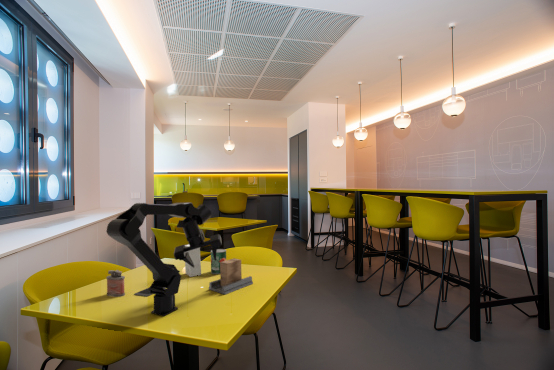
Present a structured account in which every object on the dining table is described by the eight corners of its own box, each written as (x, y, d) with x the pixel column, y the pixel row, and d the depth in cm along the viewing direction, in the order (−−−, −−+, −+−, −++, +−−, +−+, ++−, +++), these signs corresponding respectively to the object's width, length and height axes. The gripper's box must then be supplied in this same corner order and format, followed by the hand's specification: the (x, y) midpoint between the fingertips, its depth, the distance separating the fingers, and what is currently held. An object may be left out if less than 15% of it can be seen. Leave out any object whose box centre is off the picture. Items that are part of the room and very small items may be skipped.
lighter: (127, 294, 117) (126, 269, 118) (120, 297, 114) (120, 272, 114) (111, 292, 120) (110, 268, 120) (104, 295, 116) (104, 271, 116)
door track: (225, 294, 114) (224, 287, 114) (208, 289, 120) (208, 282, 120) (252, 283, 126) (252, 276, 126) (236, 279, 133) (236, 273, 133)
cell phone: (133, 295, 116) (133, 293, 116) (158, 284, 129) (158, 283, 129) (147, 297, 114) (147, 295, 114) (171, 286, 127) (171, 284, 127)
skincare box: (201, 275, 141) (200, 245, 141) (189, 277, 138) (188, 246, 138) (196, 271, 148) (195, 242, 148) (184, 273, 145) (183, 244, 145)
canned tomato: (211, 270, 149) (210, 249, 149) (226, 269, 150) (226, 248, 151) (210, 274, 141) (210, 252, 141) (226, 273, 143) (226, 251, 143)
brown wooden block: (227, 287, 119) (227, 263, 119) (220, 285, 121) (220, 262, 122) (241, 282, 125) (241, 259, 125) (234, 280, 128) (234, 258, 128)
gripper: (215, 215, 121) (225, 246, 126) (171, 229, 118) (184, 259, 124) (215, 228, 110) (227, 260, 116) (167, 242, 108) (181, 275, 114)
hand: (204, 263), depth 118 cm, fingers open, 9 cm apart
